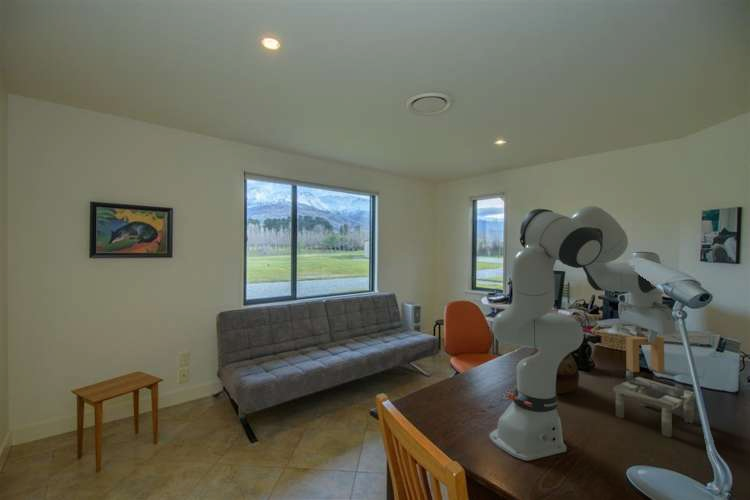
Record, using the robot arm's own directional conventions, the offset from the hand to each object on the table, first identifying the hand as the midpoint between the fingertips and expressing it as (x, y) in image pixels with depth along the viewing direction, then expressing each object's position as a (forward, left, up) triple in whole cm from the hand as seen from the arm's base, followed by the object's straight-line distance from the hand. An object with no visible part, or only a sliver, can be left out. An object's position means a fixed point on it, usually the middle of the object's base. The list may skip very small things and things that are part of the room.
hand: (645, 340), depth 109 cm
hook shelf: (+5, 0, -28) cm, 28 cm away
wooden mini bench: (0, 0, -10) cm, 10 cm away
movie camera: (+33, +47, -28) cm, 64 cm away
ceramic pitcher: (-1, +33, -28) cm, 43 cm away
